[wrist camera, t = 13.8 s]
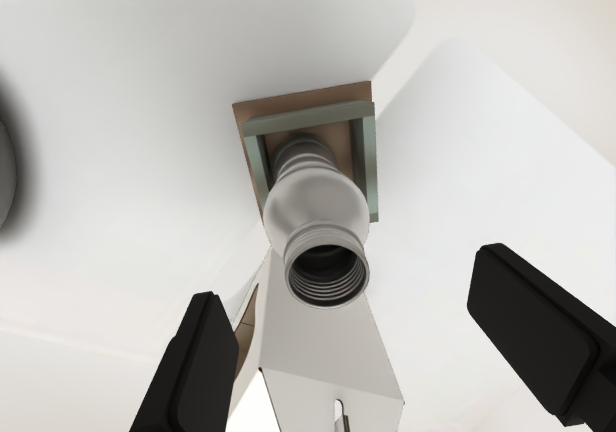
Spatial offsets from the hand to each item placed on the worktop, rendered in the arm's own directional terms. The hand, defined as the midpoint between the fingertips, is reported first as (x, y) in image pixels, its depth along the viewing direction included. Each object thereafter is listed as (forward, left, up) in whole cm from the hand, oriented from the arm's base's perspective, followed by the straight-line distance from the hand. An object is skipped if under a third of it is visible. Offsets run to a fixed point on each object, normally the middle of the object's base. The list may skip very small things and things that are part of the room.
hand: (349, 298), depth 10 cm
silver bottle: (0, -1, -22) cm, 22 cm away
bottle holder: (0, 0, -23) cm, 23 cm away
